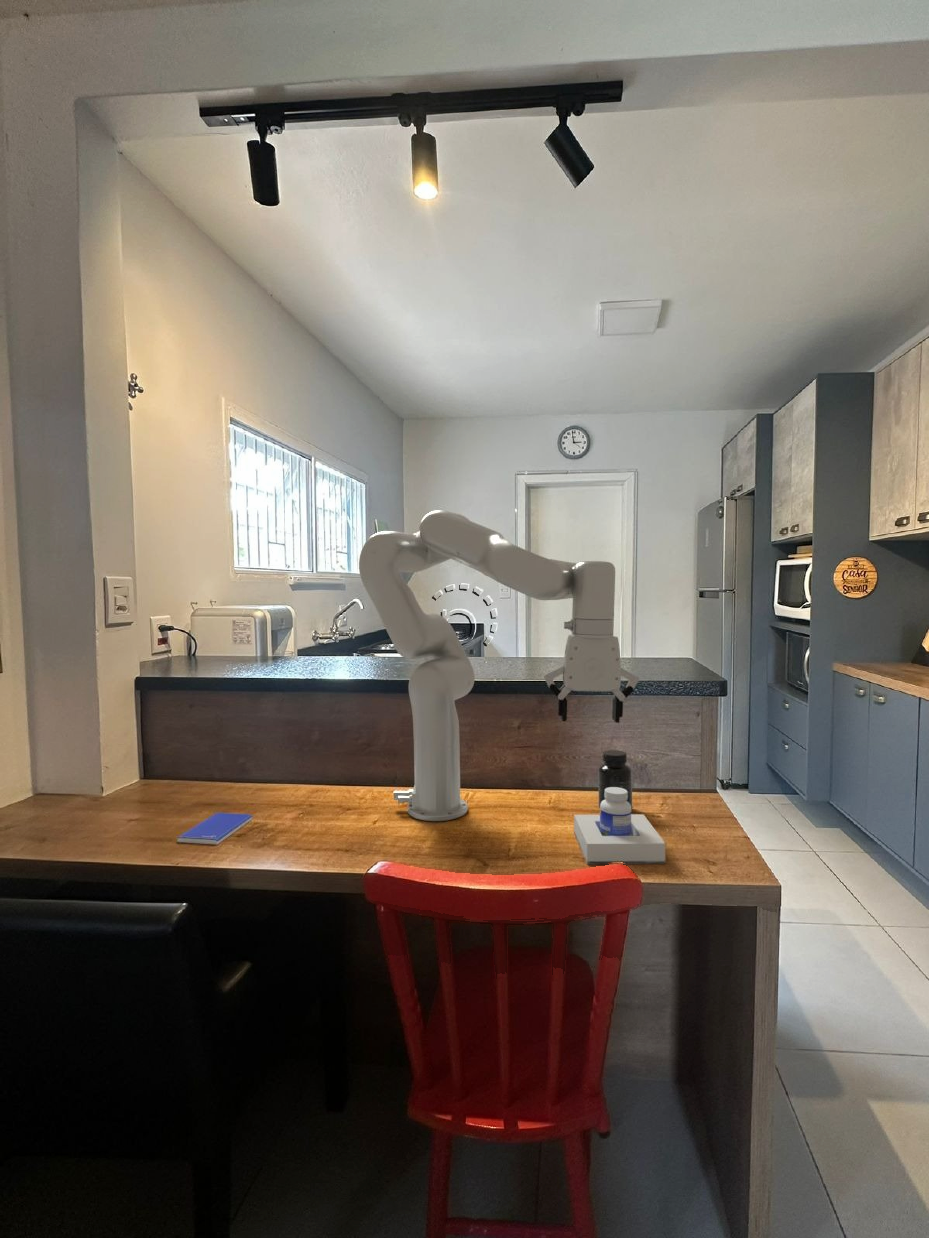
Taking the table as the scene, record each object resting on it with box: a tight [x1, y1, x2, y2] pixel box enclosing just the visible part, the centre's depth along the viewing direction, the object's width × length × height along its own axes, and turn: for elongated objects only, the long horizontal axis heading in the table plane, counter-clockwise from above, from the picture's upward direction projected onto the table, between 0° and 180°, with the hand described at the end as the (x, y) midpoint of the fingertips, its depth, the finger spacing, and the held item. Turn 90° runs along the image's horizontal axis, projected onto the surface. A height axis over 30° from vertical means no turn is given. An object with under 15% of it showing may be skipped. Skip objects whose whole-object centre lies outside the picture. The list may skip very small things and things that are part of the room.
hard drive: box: [177, 812, 253, 845], centre depth 118 cm, size 2×8×12 cm
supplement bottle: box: [597, 749, 633, 811], centre depth 126 cm, size 7×7×12 cm
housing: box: [573, 813, 666, 865], centre depth 107 cm, size 13×13×4 cm
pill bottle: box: [599, 787, 632, 836], centre depth 107 cm, size 5×5×10 cm
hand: (589, 720), depth 112 cm, fingers open, 9 cm apart
